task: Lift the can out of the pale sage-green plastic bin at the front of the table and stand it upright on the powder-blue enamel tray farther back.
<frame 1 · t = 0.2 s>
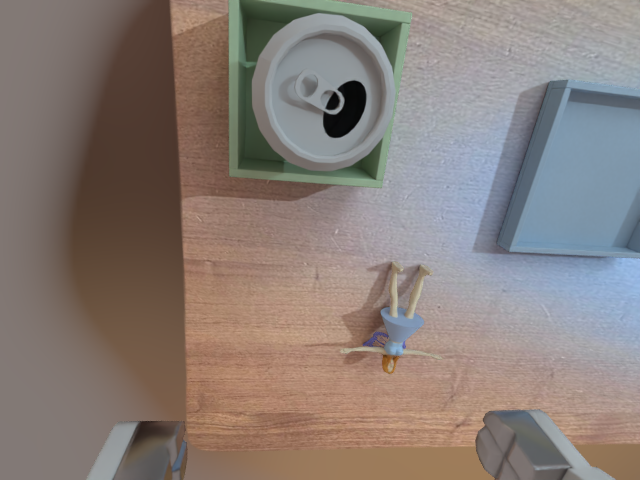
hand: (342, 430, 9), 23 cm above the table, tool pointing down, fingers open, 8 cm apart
bin: (309, 100, 27), on the table
can: (309, 100, 27), resting on bin
fairy figurine: (393, 309, 36), on the table
tray: (591, 176, 32), on the table
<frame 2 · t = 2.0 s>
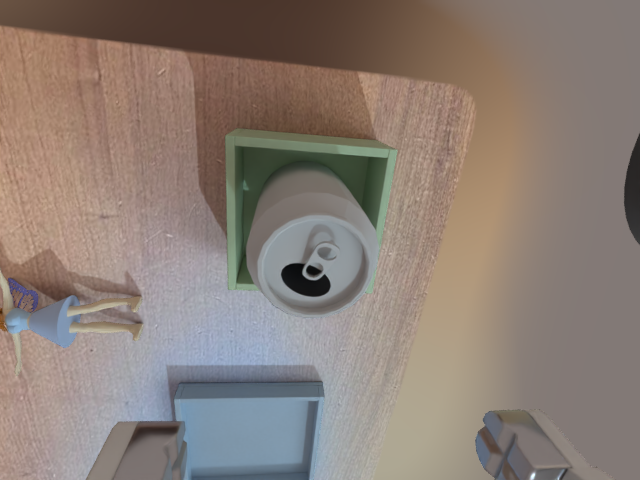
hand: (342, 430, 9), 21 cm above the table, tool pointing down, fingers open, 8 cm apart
bin: (303, 202, 28), on the table
can: (303, 203, 28), resting on bin
fairy figurine: (76, 304, 30), on the table
tray: (252, 431, 38), on the table
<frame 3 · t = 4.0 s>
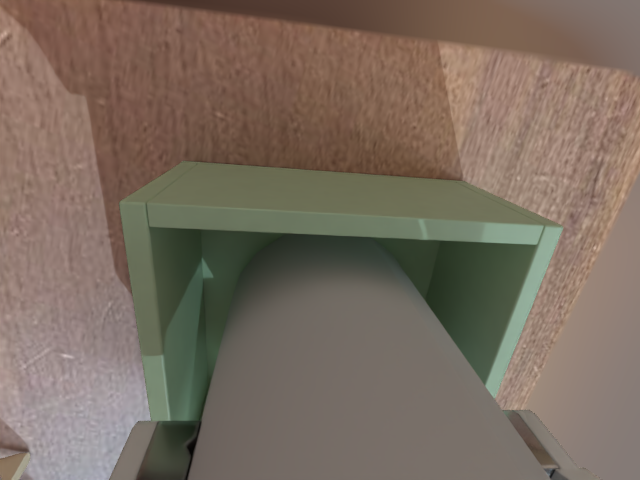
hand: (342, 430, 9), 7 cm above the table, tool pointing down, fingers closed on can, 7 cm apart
bin: (319, 293, 15), on the table
can: (319, 295, 15), resting on bin, touching gripper
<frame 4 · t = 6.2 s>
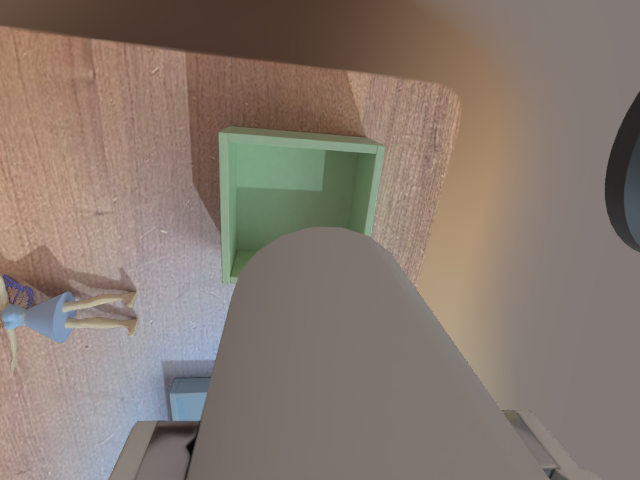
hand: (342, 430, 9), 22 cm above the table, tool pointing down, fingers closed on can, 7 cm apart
bin: (295, 198, 29), on the table
can: (318, 294, 15), point 15 cm above the table, touching gripper
fairy figurine: (71, 301, 30), on the table
tray: (247, 425, 39), on the table
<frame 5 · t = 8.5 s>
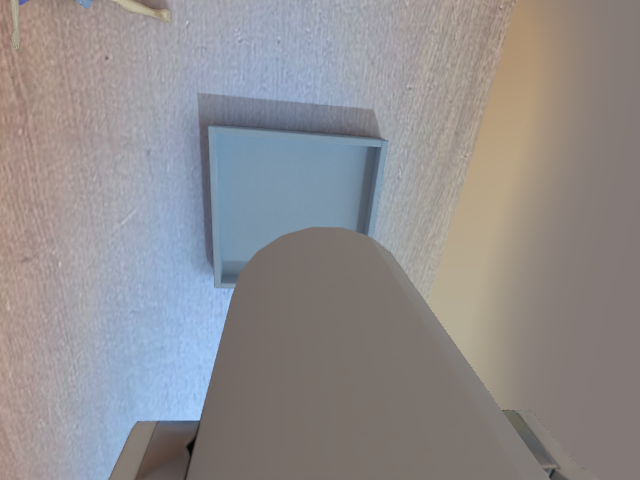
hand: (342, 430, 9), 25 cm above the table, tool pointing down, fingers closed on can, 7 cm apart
can: (318, 294, 15), point 18 cm above the table, touching gripper
tray: (295, 212, 32), on the table
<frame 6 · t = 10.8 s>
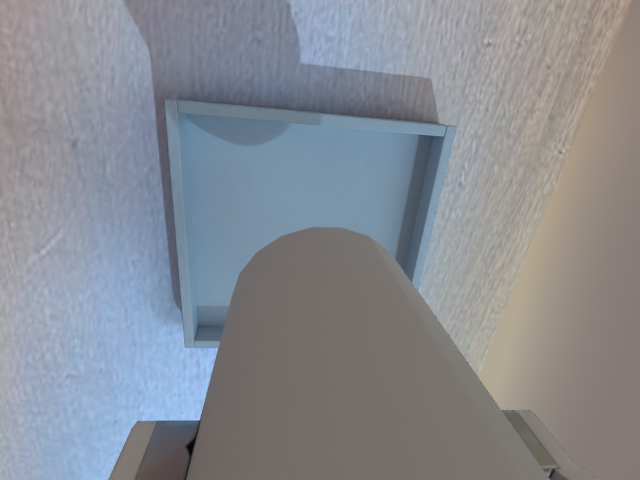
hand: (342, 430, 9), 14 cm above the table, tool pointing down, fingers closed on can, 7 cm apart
can: (318, 294, 15), point 7 cm above the table, touching gripper
tray: (305, 235, 22), on the table
when the fingers open (7 cm above the table, at t = 13.0 s): can stays where it is, resting on tray.
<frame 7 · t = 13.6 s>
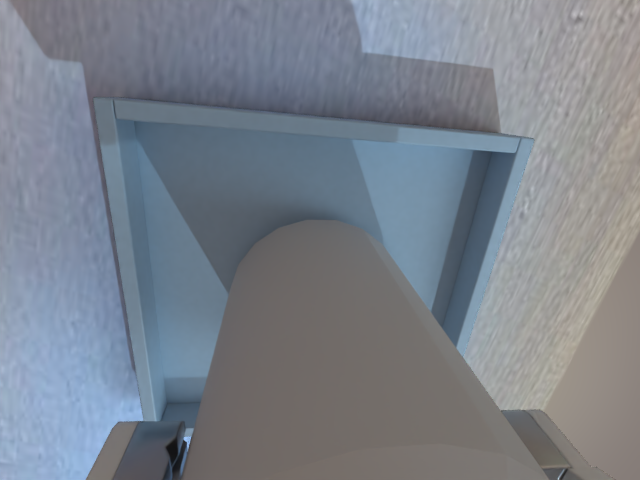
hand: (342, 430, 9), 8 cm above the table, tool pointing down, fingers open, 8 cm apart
can: (314, 285, 16), resting on tray
tray: (311, 284, 16), on the table
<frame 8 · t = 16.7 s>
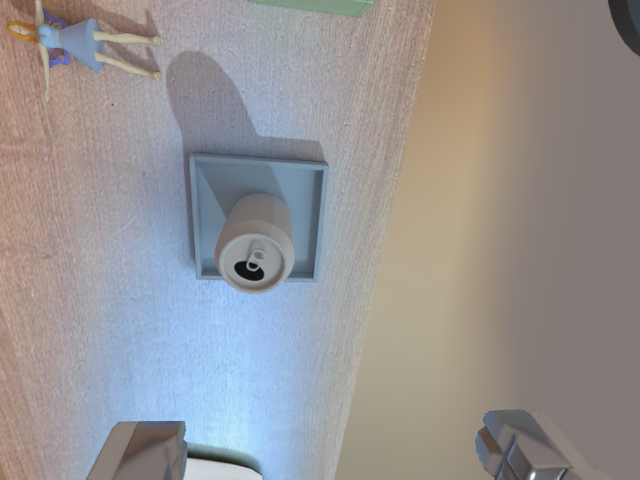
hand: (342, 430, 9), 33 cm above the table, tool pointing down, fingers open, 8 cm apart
can: (261, 219, 41), resting on tray
fairy figurine: (99, 47, 32), on the table
tray: (260, 219, 41), on the table
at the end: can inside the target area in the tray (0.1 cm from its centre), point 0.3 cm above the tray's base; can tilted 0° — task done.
